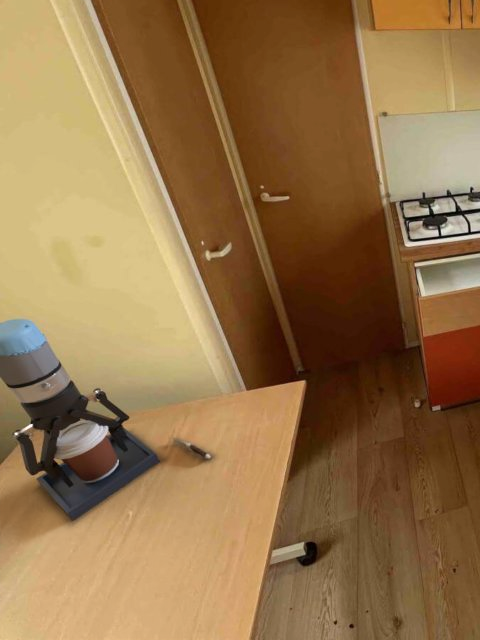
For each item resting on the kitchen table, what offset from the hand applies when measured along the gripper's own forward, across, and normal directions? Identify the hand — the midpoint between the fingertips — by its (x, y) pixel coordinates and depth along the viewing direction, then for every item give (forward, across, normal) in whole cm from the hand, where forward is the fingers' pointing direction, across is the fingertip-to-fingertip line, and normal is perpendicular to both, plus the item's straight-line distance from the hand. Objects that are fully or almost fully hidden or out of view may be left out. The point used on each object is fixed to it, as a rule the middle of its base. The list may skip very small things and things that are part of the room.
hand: (97, 465), depth 93 cm
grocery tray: (+3, 0, 0) cm, 3 cm away
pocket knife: (+3, +13, -11) cm, 17 cm away
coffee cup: (+2, 0, 0) cm, 2 cm away
